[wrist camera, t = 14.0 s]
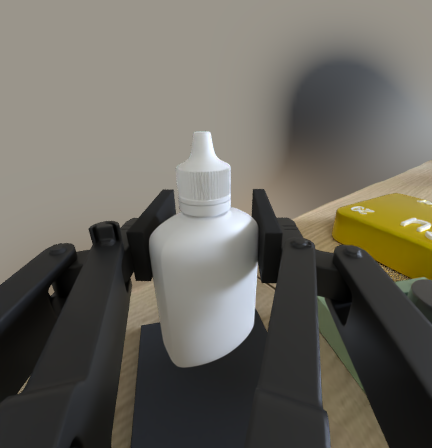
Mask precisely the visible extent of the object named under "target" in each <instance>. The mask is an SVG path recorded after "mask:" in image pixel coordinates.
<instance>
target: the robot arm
mask: <svg viewBox="0 0 432 448" xmlns="http://www.w3.org/2000/svg"><path fill="white" fill-rule="evenodd" d="M174 215H176V210H175V199H174V190H162V191H161V192H160V194H159V195H158V196H157V197H156V198H155V199H154V201H153V202H152V203H151V204H150V205H149V206H148V208H147V209H146V210H145V211H144V212H143V213H142V214H141V216H140V217H139V218H132V219H130V220H129V221H127V222H126V223H125V224H124V225H123V226H122V227H121V228H120V226H119V223H118V222H115V221H105V222H100V223H97V224H94V225H92V226H91V227H90V228H89V232H90V236H91V240H92V243H93V245H92V247H91V250H85V251H79V252H76V250H75V247H74V245H73V244H69V243H64V244H62V243H60V244H58V245H57V244H56V245H53V246H52V247H49V248H47V249H46V250H44V251H43V252H41V253H40V254H39V255H38V256H36V257H35V258H34V259H33V260H31V261H30V262H29V263H28V264H27V265H25V266H24V267H22V268H21V269H20V270H19V271H18V272H16V273H15V274H14V275H12V276H11V277H10V278H9V279H7V280H6V281H5V282H3V283H2V284H1V285H0V448H111V436H112V428H113V420H114V413H115V406H116V399H117V391H118V384H119V377H120V369H121V362H122V355H123V347H124V340H125V333H126V325H127V318H128V311H129V303H130V296H131V289H132V283H131V279H130V277H131V276H132V274H133V272H134V274H135V279H136V281H151V279H152V277H153V274H152V267H151V260H150V253H149V239H150V236H151V234H152V233H153V231H154V230H155V229H156V228H157V227H158V226H159V225H161V224H162V223H163V222H165V221H166V220H168V219H169V218H171V217H172V216H174ZM252 218H253V219H254V220H255V221H256V223H257V224H258V228H259V244H258V265H259V271H260V277H261V282H262V283H277V284H276V289H275V294H274V300H273V305H272V311H271V316H270V321H269V327H268V332H267V337H266V343H265V348H264V354H263V359H262V364H261V370H260V375H259V381H258V385H257V388H256V390H255V393H254V398H253V403H252V408H251V413H250V418H249V424H248V429H247V434H246V439H245V444H244V448H331V446H330V430H329V421H328V415H327V412H326V411H325V410H324V409H323V406H322V390H321V367H320V345H319V323H318V300H317V296H321V297H324V298H325V302H326V304H327V307H328V309H329V311H330V314H331V316H332V318H333V320H334V323H335V325H336V327H337V329H338V332H339V334H340V336H341V339H342V341H343V343H344V345H345V348H346V350H347V352H348V355H349V357H350V359H351V361H352V364H353V366H354V368H355V371H356V373H357V375H358V377H359V380H360V382H361V384H362V386H363V389H364V391H365V393H366V396H367V398H368V400H369V402H370V405H371V407H372V409H373V412H374V414H375V416H376V418H377V421H378V423H379V425H380V428H381V430H382V432H383V434H384V437H385V439H386V441H387V443H388V446H389V448H432V324H431V323H430V321H429V320H428V319H427V318H426V317H425V316H424V315H423V314H422V312H421V311H420V310H419V309H418V308H417V307H416V306H415V305H414V304H413V302H412V301H411V300H410V299H409V298H408V297H407V296H406V295H405V293H404V292H403V291H402V290H401V289H400V288H399V287H398V286H397V284H396V283H395V282H394V281H393V280H392V279H391V278H390V277H389V275H388V274H387V273H386V272H385V271H384V270H383V269H382V268H381V266H380V265H379V264H378V263H377V262H376V261H375V260H374V259H373V258H372V256H371V255H370V254H369V253H368V252H366V251H365V250H363V249H361V248H359V247H357V246H353V245H340V246H337V247H336V248H335V250H334V253H329V252H323V251H319V250H316V249H315V245H314V243H313V242H311V241H310V240H307V239H305V238H303V236H302V235H301V233H300V231H299V230H298V228H297V227H296V224H295V222H294V221H293V220H291V219H289V218H276V216H275V214H274V211H273V209H272V207H271V204H270V202H269V199H268V197H267V195H266V193H265V190H264V189H253V200H252ZM51 284H52V286H53V289H54V291H55V292H54V293H53V295H51V296H50V295H49V293H48V290H49V287H50V285H51ZM30 375H31V376H30ZM29 376H30V378H29ZM28 378H29V380H28V382H27V384H26V386H25V388H24V390H23V391H22V392H21V393H20V394H17V393H18V392H19V390H20V389H21V387H22V386H23V385H24V383H25V382H26V381H27V379H28ZM16 394H17V395H16Z"/></svg>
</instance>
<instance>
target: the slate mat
mask: <svg viewBox="0 0 432 448" xmlns="http://www.w3.org/2000/svg"><path fill="white" fill-rule="evenodd" d="M266 337H267V331H266V329H265V327H264V325H263V323H262V321H261V318H260V316H259V314H258V312H257V310H256V308H255V316H254V325H253V328H252V330H251V332H250V333H249V335H248V336H247V337H246V338H245V340H244V341H243V342H242V343H241V344H240V345H239V346H237V347H236V348H235V349H234V350H233V351H231V352H230V353H228V354H226V355H225V356H223V357H221V358H219V359H217V360H214V361H212V362H209V363H206V364H202V365H198V366H193V367H184V368H182V367H178V366H176V365H175V364H174V363H173V362H172V360H171V358H170V356H169V354H168V352H167V350H166V347H165V345H164V342H163V336H162V330H161V324H160V322H159V323H154V324H148V325H142V326H141V335H140V347H139V358H138V369H137V381H136V392H135V404H134V415H133V426H132V438H131V448H244V444H245V439H246V434H247V429H248V424H249V418H250V413H251V408H252V403H253V398H254V393H255V390H256V388H257V385H258V381H259V375H260V370H261V364H262V359H263V354H264V348H265V343H266Z"/></svg>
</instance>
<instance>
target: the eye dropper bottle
mask: <svg viewBox="0 0 432 448" xmlns="http://www.w3.org/2000/svg"><path fill="white" fill-rule="evenodd" d="M176 177H177V188H178V199H179V209H180V211H181V212H179V213H177V214H176V215H174V216H172V217H171V218H169V219H168V220H166V221H165V222H163V223H162V224H161V225H159V226H158V227H157V228H156V229H155V230H154V231H153V233H152V234H151V236H150V239H149V253H150V260H151V267H152V274H153V280H154V287H155V293H156V299H157V306H158V312H159V318H160V324H161V330H162V336H163V342H164V345H165V347H166V350H167V352H168V354H169V356H170V358H171V360H172V362H173V363H174V364H175V365H176V366H178V367H182V368H184V367H193V366H198V365H202V364H206V363H209V362H212V361H214V360H217V359H219V358H221V357H223V356H225V355H226V354H228V353H230V352H231V351H233V350H234V349H235V348H236V347H237V346H239V345H240V344H241V343H242V342H243V341H244V340H245V338H246V337H247V336H248V335H249V333H250V332H251V330H252V328H253V325H254V316H255V300H256V283H257V266H258V244H259V228H258V224H257V223H256V221H255V220H254V219H253V218H252V217H251V216H250V215H248V214H247V213H245V212H243V211H241V210H239V209H236V208H232V207H230V206H231V205H230V204H231V198H230V197H231V194H230V193H231V166H230V165H229V164H228V163H226V162H224V161H222V160H220V159H218V158H217V156H216V155H215V153H214V148H213V144H212V139H211V134H210V132H206V131H201V132H194V133H193V141H192V149H191V155H190V157H189V158H188V160H186V161H184V162H183V163H181V164H179V165H178V166H177V167H176Z"/></svg>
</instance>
